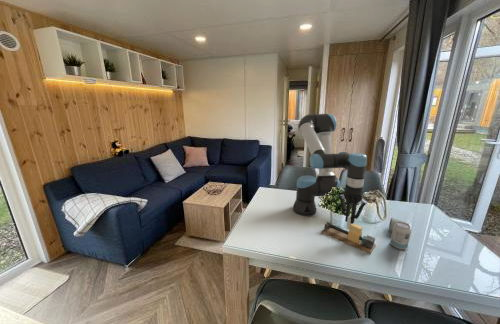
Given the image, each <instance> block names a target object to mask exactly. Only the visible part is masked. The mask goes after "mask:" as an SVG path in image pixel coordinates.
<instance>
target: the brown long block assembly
mask: <svg viewBox="0 0 500 324" xmlns="http://www.w3.org/2000/svg"><path fill="white" fill-rule="evenodd" d="M348 232H349V230H345V229H344V228H341V227H339V226H336V225H334V224H332V222H329V221H327V222H326V223H325V224H324V228H323V230H322V232H321V233H322V234H324V235H327V236H329V237H331V238H332V239H335V240H338V241H339V242H342V243H344V244H346V245H348V246H350V247H353V248H354V249H357V250H360V251H362V252H364V253H366V254H369V255H371V254H372V253H373V251H374V250H375V248H376V244H377V243H375V241H376V237H374V236H370V235H368V234H367V235H363V236H360V237H359V240H360V242H359V243H358V244H357V243H355V242H353V241H350V240H348Z"/></svg>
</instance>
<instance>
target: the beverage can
mask: <svg viewBox="0 0 500 324" xmlns="http://www.w3.org/2000/svg"><path fill="white" fill-rule="evenodd" d="M408 224H409V223H408ZM408 224H406V223H404V222H396V224H394V226H393V231H392V232H391V237H390V244H391V246H393V247H394V248H395V249H398V250H406V249H407V248H408V246H409V244H410V243H409V242H410V237H411V234H412V229H411V225H410V224H409V225H408Z"/></svg>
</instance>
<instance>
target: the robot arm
mask: <svg viewBox="0 0 500 324" xmlns="http://www.w3.org/2000/svg"><path fill="white" fill-rule="evenodd" d="M337 124H338V123H337V118H336V116H334V114H332V113H311V114H310V113H309V114H306V115H303V117H302V118H300V120H299V122H298V125H297V129H298V132H299V134H300V135H301V136H302V137H303V139H304V142H305V144H306V146H307V149H308V151H309V154H310V156H309V165H310V168H311V169H316V170H317V169H318V174H317V175H316V176H313V175H309V174H307V175H301V176H300V177H298V178H297V181H296V191H295V192H296V194H295V195H296V197H295V201H294V202H293V205H292V211H293V212H294V213H295V214H297V215H299V216H303V217H311V216H315V215H316V214H317V210H318V209H317V205H316V202H315V201H316V200H315V198H316V197H325V196H324V195H325V193H328V192H330V191H331V189H332V187H340V188H341V181H340V178H338V177H337V175H336V173H334V169H345V170H346V171H347V173H346V180H345V188H344V193H343V194H339V195H338V198H339V200H340V208H341V214H342V215H344V216H345V217H344V218H345V220H344V221H345V222H346V229H347V230H349V229H350V225H351V224H355V219H356V220H357V219H359V217H360V215H361V214H362V211H363V209H364V208H365V206H366V205H368V201H365V200H364V198H363V190H364V184H365V183H364V182H365V175H366V171H367V170H366V169H367V164H368V163H367V161H368V160H367V159H368V157H367V156H368V155H366V154H365V153H360V152H352V153H348V152H345V151H340V152H338V153H333V149H332V135H334V132H335V131H336V129H337ZM359 203H360V205H359V208H358V210H357V205H358V204H359Z"/></svg>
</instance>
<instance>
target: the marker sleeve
mask: <svg viewBox="0 0 500 324" xmlns="http://www.w3.org/2000/svg"><path fill="white" fill-rule="evenodd" d="M348 231H349V232H348V240H350V241H353V242H355V243H357V244H358V243H359V242H360V240H359V237H360V236H361V237H363V236H362V235H363V226H361V225H359V224H356V223H353V224H351V225H350V229H348Z"/></svg>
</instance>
